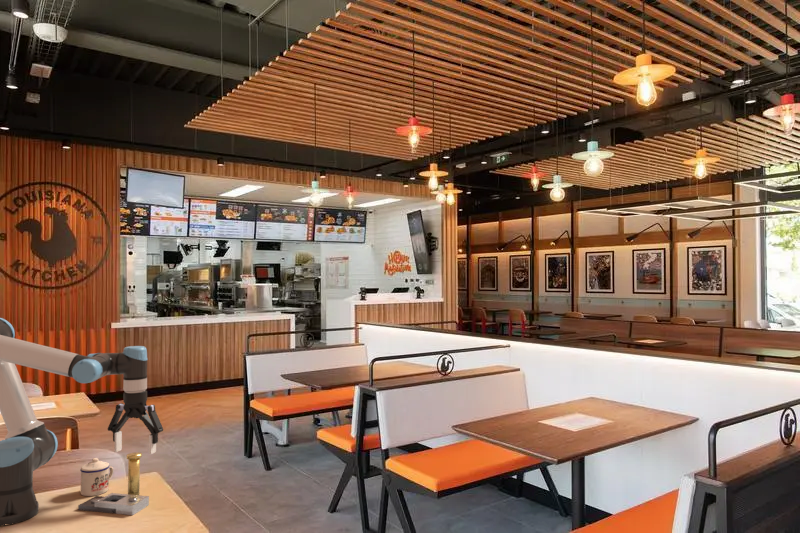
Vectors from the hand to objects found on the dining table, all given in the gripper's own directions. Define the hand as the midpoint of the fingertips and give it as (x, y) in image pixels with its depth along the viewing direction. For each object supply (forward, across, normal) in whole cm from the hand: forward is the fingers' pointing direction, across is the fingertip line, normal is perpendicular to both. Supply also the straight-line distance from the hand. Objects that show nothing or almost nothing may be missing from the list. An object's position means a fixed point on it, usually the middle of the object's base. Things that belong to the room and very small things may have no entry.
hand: (135, 452), depth 195 cm
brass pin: (+15, 0, 0) cm, 15 cm away
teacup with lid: (+15, +16, -1) cm, 21 cm away
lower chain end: (+15, +2, +11) cm, 19 cm away
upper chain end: (+15, -3, +11) cm, 19 cm away
